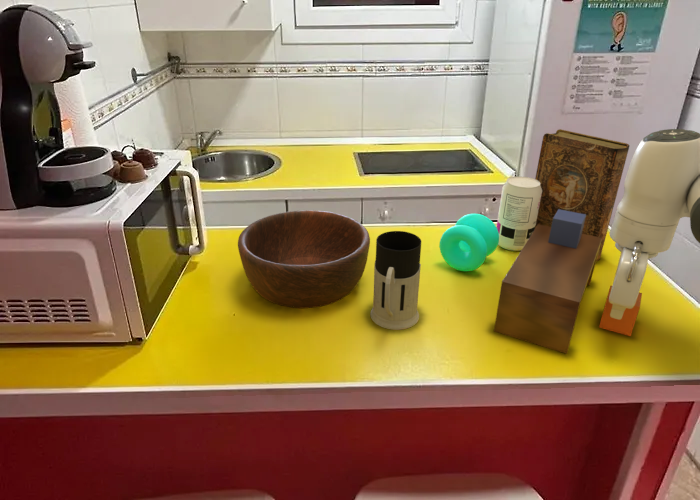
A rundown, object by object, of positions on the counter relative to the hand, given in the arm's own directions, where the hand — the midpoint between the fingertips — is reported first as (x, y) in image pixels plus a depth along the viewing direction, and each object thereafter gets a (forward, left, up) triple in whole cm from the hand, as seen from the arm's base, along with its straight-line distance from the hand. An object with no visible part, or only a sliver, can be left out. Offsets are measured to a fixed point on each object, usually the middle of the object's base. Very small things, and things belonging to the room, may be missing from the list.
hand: (618, 303), depth 89 cm
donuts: (+29, -8, -5) cm, 31 cm away
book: (+13, -26, -5) cm, 30 cm away
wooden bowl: (+54, +16, -5) cm, 57 cm away
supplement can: (+23, -22, -5) cm, 32 cm away
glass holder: (+33, +20, -5) cm, 39 cm away
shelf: (+11, 0, -4) cm, 12 cm away
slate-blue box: (+11, -8, +6) cm, 15 cm away
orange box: (-1, 0, -4) cm, 4 cm away
